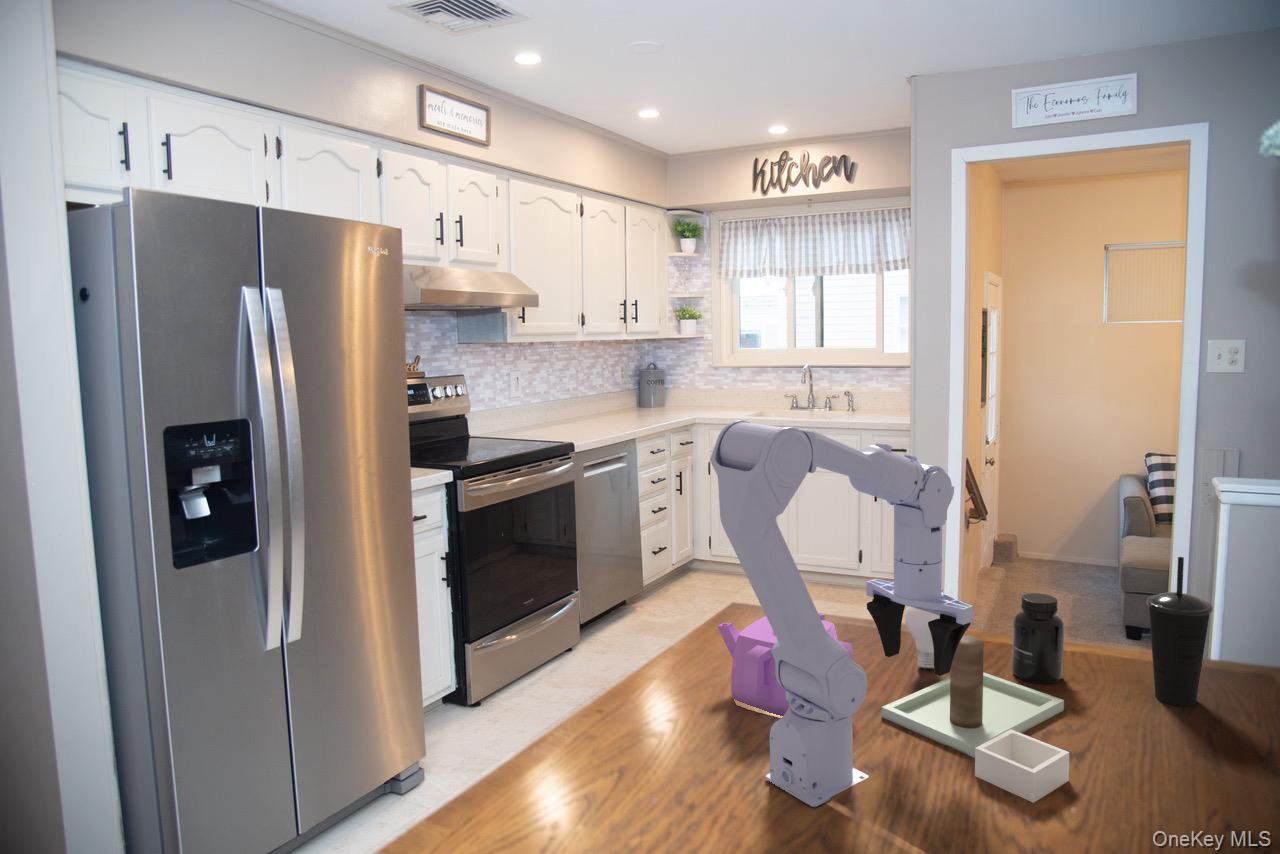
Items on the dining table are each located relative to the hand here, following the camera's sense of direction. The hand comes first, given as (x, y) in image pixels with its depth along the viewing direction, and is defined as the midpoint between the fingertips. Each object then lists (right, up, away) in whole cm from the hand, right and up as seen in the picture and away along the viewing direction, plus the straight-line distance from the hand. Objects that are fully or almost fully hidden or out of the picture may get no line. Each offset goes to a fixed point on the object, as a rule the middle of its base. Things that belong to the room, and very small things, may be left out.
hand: (916, 663), depth 109 cm
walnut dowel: (+8, -9, +4) cm, 12 cm away
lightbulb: (+9, -7, +23) cm, 26 cm away
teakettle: (-14, -9, +16) cm, 23 cm away
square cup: (+9, -11, -9) cm, 17 cm away
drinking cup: (+39, -8, +10) cm, 41 cm away
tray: (+10, -9, +7) cm, 15 cm away
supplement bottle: (+24, -7, +19) cm, 32 cm away
